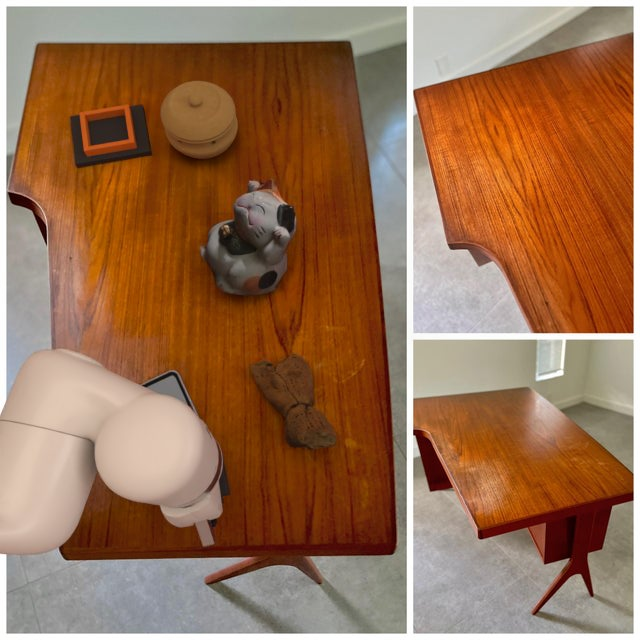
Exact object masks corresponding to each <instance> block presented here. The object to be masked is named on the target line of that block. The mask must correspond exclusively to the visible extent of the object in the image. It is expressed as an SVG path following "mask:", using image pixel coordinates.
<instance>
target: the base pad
mask: <svg viewBox="0 0 640 640" xmlns="http://www.w3.org/2000/svg"><path fill="white" fill-rule="evenodd" d="M69 121H70V130H71V139H72V148H73V154H74V155H73V157H74V164H75V167H76V168H77V169H80V168H84V167H85V168H86V167H91V166H97V165H103V164H108V163H113V162H119V161H124V160H130V159H136V158H143V157H149V156H152V155H153V154H152V153H153V152H152V148H151V142H150V137H149V131H148V124H147V119H146V113H145V108H144V106H143V104H136V105H131V106H130V105H129V104H122V105H117V106H116V105H115V106H110V107H103V108H98V109H92V110H85V111H80V112H79V114H75V115H70V116H69Z"/></svg>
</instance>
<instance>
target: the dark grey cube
mask: <svg viewBox="0 0 640 640" xmlns="http://www.w3.org/2000/svg"><path fill="white" fill-rule="evenodd" d="M222 457H223V467H222V472H221V476H220V478H219V487H220V494H221V497H222V498H224V497H228V496H231V488H230V484H229V479H228V474H227V469H226V463H225V459H224V454H223V453H222Z"/></svg>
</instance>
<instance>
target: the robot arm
mask: <svg viewBox="0 0 640 640" xmlns="http://www.w3.org/2000/svg"><path fill="white" fill-rule="evenodd" d="M198 416H199V415H198ZM198 416H197V415H196V414H195V413H194V411H193V410H192V407H191V406H190V407H189V406H188V405H186V404H185V403H184V402H182V401H181V400H179V399H177V398H175V397H172V396H169V395H165V394H159V393H157V392H154V391H152V390H150V389H148V388H145V387H143V386H141V384H139V383H137V382H135V381H132V380H130V379H128V378H125V377H124V376H121V375H119V374H117V373H116V372H113V371H111V370H110V369H107V367H106V366H104V365H103V364H102V363H101V362H99V361H98V360H96V359H94V358H93V357H90V356H89V355H87V354H84V353H81V352H79V351H76V350H72V349H67V348H61V347H59V348H55V349H51V348H50V349H49V348H47V349H45V348H44V349H40V350H37V351H35V352H33V353H31V354H30V355H29V356H28V357H27V358H26V359H25V360H24V361H23V363H22V364H21V366H20V368H19V370H18V372H17V374H16V377H15V379H14V381H13V383H12V386H11V388H10V391H9V393H8V396H7V398H6V400H5V403H4V404H3V408H2V410H1V412H0V555H7V556H37V555H43V554H47V553H50V552H52V551H55V550H56V549H58V548H60V547H61V546H63V545H64V544H65V543H66V542H67V541H68V540H69V539H70V538H71V537H72V535H73V534H74V532H75V531H76V529H77V527H78V525H79V523H80V521H81V518H82V515H83V512H84V510H85V507H86V504H87V501H88V498H89V496H90V493H91V490H92V487H93V484H94V483H95V482H94V481H95V479H96V475H97V472H98V475H99V477H100V479H101V480H102V481H103V482H104V484H105V485H106V487H108V488H109V489H110V491H112V492H113V493H114V494H116V495H118V496H120V497H121V498H124V499H125V500H126V499H127V500H130V501H132V502H135V503H142V504H149V505H154V506H159V508H160V510H161V513H162V515H163V516H164V518H165V520H166V521H167V522H168V523H169V524H171V525H172V526H174V527H177V528H188V527H192V526H195V527H196V531H197V534H198V536H199V539H200V541H201V545H202V547H203V548H205V547H206V548H207V547H209V546H213V545H216V538H215V528H216V526H217V524H218V519H219V518H220V517H221V515H222V514H223V504H225V500H224V497H221V494H220V487H219V478H220V476H221V472H222V467H223V457H224V456H223V457H222V454H223V452H222V449H221V447H220V443H219V442H218V441H217V438H216V437H215V436H214V435H213V434H212V432H211V431H210V429H209V428H208V425H207V424H206V422H204V420H203V419H201V418H200V416H199V417H198ZM199 418H200V419H199Z"/></svg>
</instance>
